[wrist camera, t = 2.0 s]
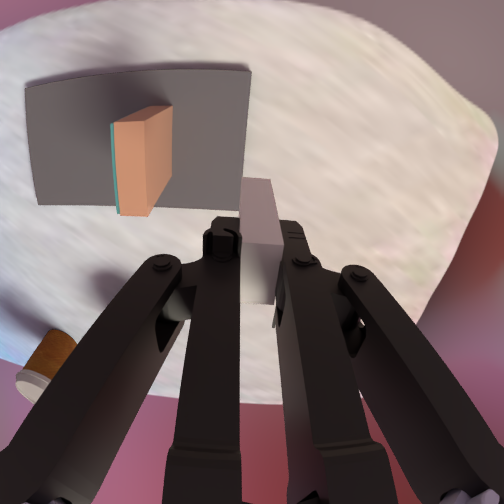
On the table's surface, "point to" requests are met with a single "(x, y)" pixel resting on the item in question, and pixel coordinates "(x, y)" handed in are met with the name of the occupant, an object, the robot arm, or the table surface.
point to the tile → (141, 159)
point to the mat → (123, 104)
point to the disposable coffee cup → (44, 364)
